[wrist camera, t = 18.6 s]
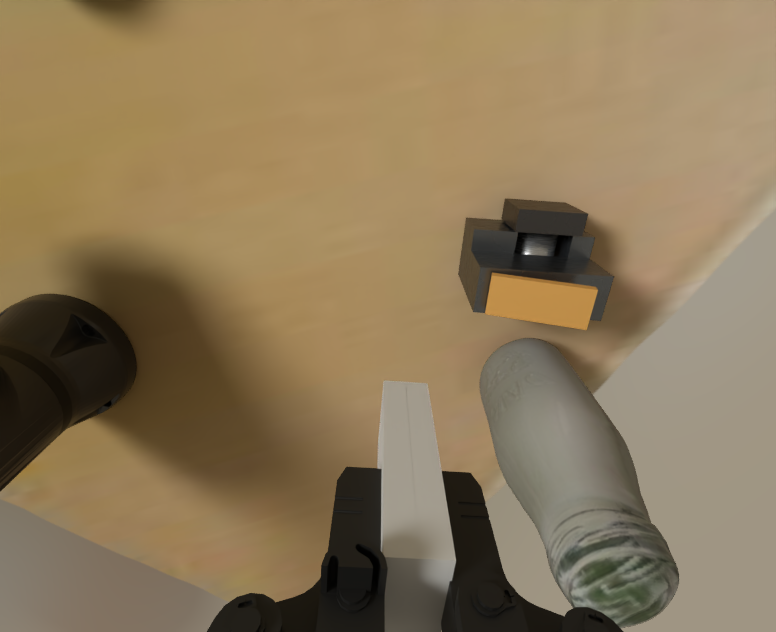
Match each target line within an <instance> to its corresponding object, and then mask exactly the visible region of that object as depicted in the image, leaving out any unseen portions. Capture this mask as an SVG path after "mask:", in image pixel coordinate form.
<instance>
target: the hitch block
mask: <svg viewBox="0 0 776 632" xmlns="http://www.w3.org/2000/svg"><path fill="white" fill-rule="evenodd" d="M517 236H518V232H515V231H514V230H513V229H512V228H511V227H510V226H508V225H507V224H506V223H505V222H504V221H503V220H491V219H477V218H466V223H465V230H464V237H463V244H462V251H461V258H460V266H459V273H458V275H459V277H460V280H461V282H462V285H463V287H464V290H465V292H466V295H467V297H468V300H469V303H470V305H471V308H472V310H473V312H480V313H485V310H486V304H487V299H488V293H489V287H490V281H491V276H492V273H499V274H507V275H514V276H521V277H528V278H536V279H543V280H550V281H557V282H565V283H572V284H579V285H586V286H594V287H596V288H597V289H598V292H597V295H596V299H595V302H594V306H593V309H592V313H591V317H590V320H597V321H601V319H602V315H603V312H604V309H605V305H606V302H607V298H608V295H609V292H610V288H611V285H612V282H613V278H614V276H612V275H611V274H610V273H608V272H607V271H605V270H604V269H603V268H601V267H600V266H599V265H597V264H596V263H594V262H593V261H592V260H590V255H591V251H592V247H593V244H594V240H595V237H593V236H592V235H590V234H588V233H587V232H585V231H584V232H583V236H568V235H558V240H557V244H556V248H555V253H554V256H541V255H527V254H514V252H515V246H516V241H517Z"/></svg>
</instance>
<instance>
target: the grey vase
mask: <svg viewBox="0 0 776 632" xmlns="http://www.w3.org/2000/svg"><path fill="white" fill-rule="evenodd" d="M480 394H481V399H482V402H483V406H484V409H485V413H486V416H487V419H488V423H489V427H490V432H491V436H492V441H493V444H494V449H495V453H496V457H497V460H498V463H499V466H500V469H501V471H502V473H503V476H504V478H505V480H506V482H507V484H508V486H509V487H510V488H511V490H512V492H513V493H514V495H515V496H516V498H517V499H518V501H519V502H520V504H521V505H522V507H523V509H524V510H525V511H526V513H527V514H528V515H529V517H530V518H531V519H532V521H533V523H534V524H535V526H536V528H537V530H538V532H539V534H540V537H541V539H542V541H543V543H544V546H545V549H546V553H547V558H548V563H549V566H550V569H551V572H552V574H553V576H554V578H555V581H556V583H557V584H558V586H559V587H560V589H561V590H562V592H563V594H564V595H565V597H566V598H567V600H568V601H569V603H570V604H571V605H572V607H573V608H575V607H589V608H592V609H595V610H597V611H600V612H602V613H603V614H605V615H606V616H607V617H609V618H610V619H612V620H613V621H614V622H615V623H616V624H617V625H618V626H619V627H620V628H625V627H630V626H634V625H637V624H641V623H643V622H646V621H649V620H650V619H652V618H654V617H655V616H657V615H658V614H660V613H661V612H662V611H663V610H664V609H665V608H666V607H667V605H668V604H669V603H670V601H671V600H672V598H673V597H674V595H675V593H676V590H677V588H678V584H679V573H678V568H677V566H676V563H675V562H674V559H673V557H672V555H671V553H670V550H669V548H668V545H667V542H666V541H665V539H664V538H663V536H662V535H661V533H660V532H659V530H658V529H657V528H656V526H655V525H653V524H652V523H651V521H650V518H649V515H648V511H647V509H646V506H645V504H644V501H643V498H642V496H641V493H640V489H639V484H638V480H637V475H636V471H635V467H634V464H633V461H632V458H631V456H630V453H629V450H628V448H627V445H626V443H625V441H624V440H623V438H622V436H621V435H620V433H619V431H618V430H617V429H616V427H615V426H614V425H613V423H612V422H611V420H610V419H609V418H608V416H607V415H606V413H605V412H604V410H603V409H602V408H601V406H600V405H599V404H598V402H597V401H596V400H595V398H594V396H593V395H592V394H591V392H590V391H589V390H588V388H587V387H586V386H585V384H584V383H583V381H582V380H581V379H580V377H579V376H578V374H577V373H576V372H575V370H574V369H573V368H572V366H571V365H570V364H569V362H568V361H567V360H566V359H565V357H564V356H563V355H562V354H561V353H560V351H559V350H558V349H557V348H556V347H554V346H553V345H551V344H549V343H547V342H545V341H543V340H540V339H535V338H523V339H518V340H515V341H512V342H509V343H507V344H505V345H503V346H501V347H500V348H498V349H497V350H496V351H495V352H494V353H493V354H492V355H491V356H490V357H489V358H488V360H487V361H486V363H485V365H484V367H483V370H482V373H481V377H480Z"/></svg>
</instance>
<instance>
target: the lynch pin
mask: <svg viewBox="0 0 776 632" xmlns="http://www.w3.org/2000/svg"><path fill="white" fill-rule="evenodd" d="M587 216H588V214H587V213H585V212H583V211H581V210H579V209H577V208H575V207H573V206H571V205H569V204H567V203H561V202H547V201H533V200H518V199H505V202H504V208H503V214H502V220H503V221H504V222H505V223H506V224H507V225H508V226H510V227H511V228H512V229H513V230H514V231H515V232H518V236H517V241H516V246H515V252H514V254H527V255H541V256H554V253H555V248H556V244H557V240H558V235H568V236H583V232H584V228H585V224H586V220H587Z"/></svg>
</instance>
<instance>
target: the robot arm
mask: <svg viewBox="0 0 776 632" xmlns="http://www.w3.org/2000/svg"><path fill="white" fill-rule="evenodd" d="M135 375H136V359H135V355H134V351H133V349H132V346H131V344H130V342H129V340H128V338H127V337H126V335H125V334H124V332H123V331H122V330H121V328H120V327H119V326H118V325H117V324H116V323H115V322H114V321H113V320H112V319H111V318H110V317H109V316H107V315H106V314H105V313H103V312H102V311H101V310H99V309H97V308H96V307H94V306H92V305H91V304H89V303H86V302H84V301H82V300H79V299H76V298H73V297H70V296H65V295H59V294H41V295H35V296H32V297H29V298H26V299H24V300H22V301H20V302H18V303H16V304H14V305H12V306H10V307H8V308H7V309H5V310H4V311H3V312H1V313H0V491H1V490H3V489H4V488H5V487H6V486H7V485H8V484H9V483H10V482H11V481H12V480H13V479H14V478H15V477H16V476H17V475H18V474H19V473H20V472H21V471H22V470H23V469H24V468H26V467H27V466H28V465H29V464H30V463H31V462H32V461H33V460H34V459H35V458H36V457H37V456H38V455H39V454H40V453H41V452H42V451H43V450H44V449H45V448H46V447H47V446H48V445H50V444H51V443H52V442H53V441H54V440H55V439H56V438H57V437H58V436H59V435H60V434H61V433H62V432H63V431H65V430H66V429H67V428H70V427H72V426H74V425H76V424H78V423H80V422H83V421H85V420H87V419H89V418H91V417H94V416H96V415H98V414H100V413H102V412H104V411H106V410H108V409H109V408H111V407H112V406H114V405H115V404H116V403H117V402H118V401H119V400H120V399H121V398H122V397H123V396H124V395H125V394H126V393H127V392H128V391H129V389H130V388H131V386H132V384H133V382H134V379H135ZM441 629H442V632H623V631H622V630H621V629H620V627H619V626H618V625H617V624H616V623H615V622H614V621H613V620H612V619H610V618H609V617H607V616H606V615H605V614H603V613H602V612H600V611H597V610H595V609H592V608H589V607H575V608H573V609H571V610H570V611H568V612H567V613H566V615H565V617H564V616H562V615H559V614H556V613H554V612H551V611H548V610H545V609H543V608H540V607H538V606H536V605H534V604H532V603H530V602H528V601H526V600H525V599H524V598H523V597H521V596H520V595H519V594H518V593H517V592H516V591H515V589H514V588H513V587H512V586H511V585H510V584H509V582H508V581H507V579H506V577H505V574H504V572H503V569H502V565H501V561H500V557H499V553H498V549H497V546H496V542H495V539H494V534H493V530H492V527H491V523H490V520H489V515H488V511H487V508H486V506H485V500H484V496H483V492H482V489H481V486H480V485H479V484H478V482H477V481H476V480H475V478H474V477H473V476H472V474H471V473H466V472H448V471H442V470H441V464H440V458H439V452H438V446H437V440H436V433H435V427H434V421H433V415H432V409H431V403H430V396H429V390H428V384H427V383H415V382H399V381H384V383H383V394H382V405H381V416H380V427H379V438H378V469H376V468H359V467H346V468H345V470H344V471H343V473H342V474H341V476H340V477H339V479H338V480H337V486H336V494H335V502H334V509H333V517H332V524H331V532H330V540H329V547H328V552H327V553H326V554H325V557H324V560H323V563H322V565H321V578H320V580H319V581H318V582H317V583H316V584H315V585H314V586H313V587H312V588H311V589H309V590H308V591H306V592H305V593H303V594H301V595H298V596H296V597H293V598H289V599H286V600H283V601H279V602H276V603H275V601H274V600H273V599H271V598H269V597H267V596H266V595H264V594H255V593H249V594H246V595H242V596H239V597H237V598H235V599H234V600H232V601H231V602H229V603H228V604H226V605H225V606H224V607H223V608H222V610H221V611H220V612H219V613H218V615H217V616H216V617H215V619H214V620H213V622H212V624H211V626H210V627H209V629H208V631H207V632H441Z"/></svg>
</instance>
